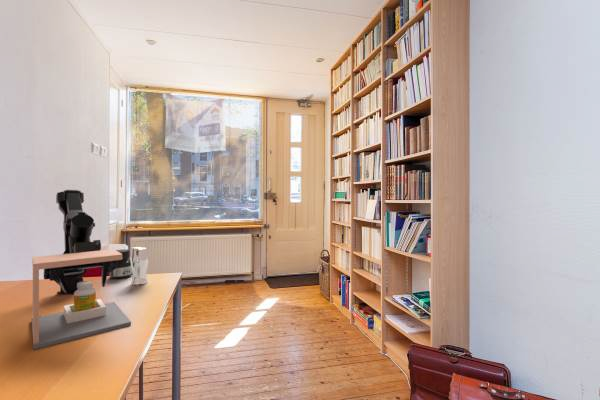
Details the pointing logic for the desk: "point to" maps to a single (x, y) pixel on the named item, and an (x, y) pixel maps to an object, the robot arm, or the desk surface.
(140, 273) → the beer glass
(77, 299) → the supplement bottle
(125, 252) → the ink bottle
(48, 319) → the awning socket
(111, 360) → the desk surface
